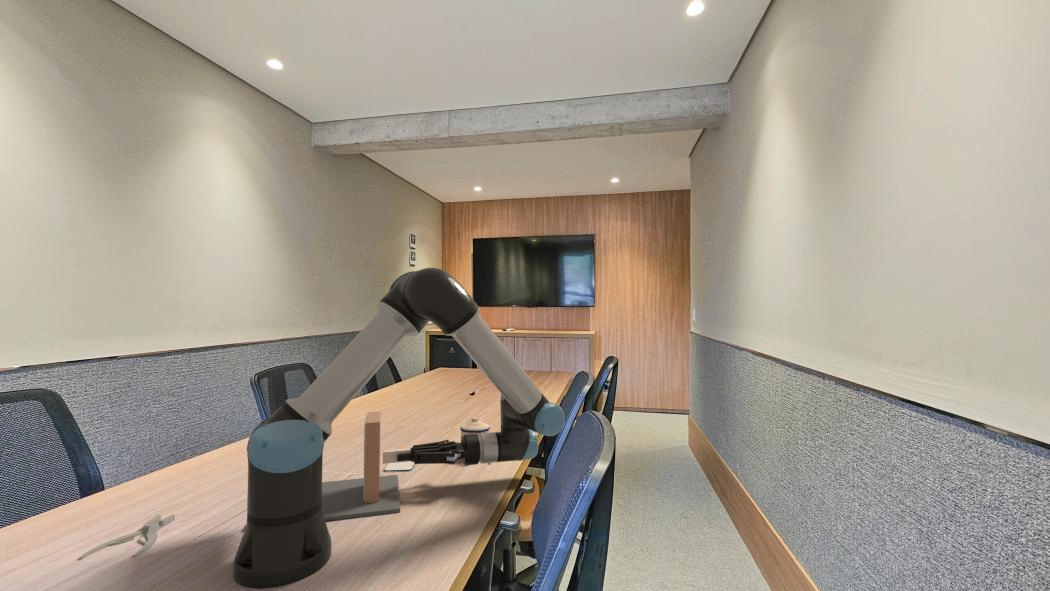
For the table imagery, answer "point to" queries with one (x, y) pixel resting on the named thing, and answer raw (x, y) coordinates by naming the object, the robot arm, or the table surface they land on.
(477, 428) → the teacup with lid
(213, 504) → the table surface
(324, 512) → the rubber mat
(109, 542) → the pliers
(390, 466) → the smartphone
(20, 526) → the table surface
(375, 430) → the light wooden block
